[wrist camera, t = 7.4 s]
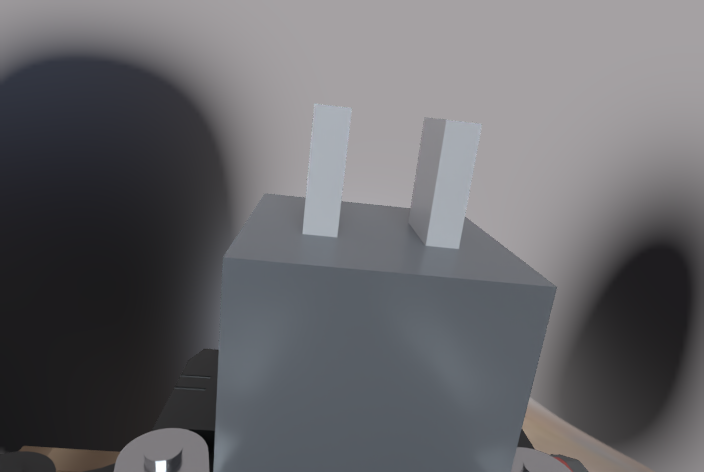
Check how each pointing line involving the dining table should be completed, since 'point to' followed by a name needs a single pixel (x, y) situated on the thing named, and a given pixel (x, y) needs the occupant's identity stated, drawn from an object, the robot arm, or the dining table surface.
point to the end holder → (75, 458)
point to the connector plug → (375, 324)
